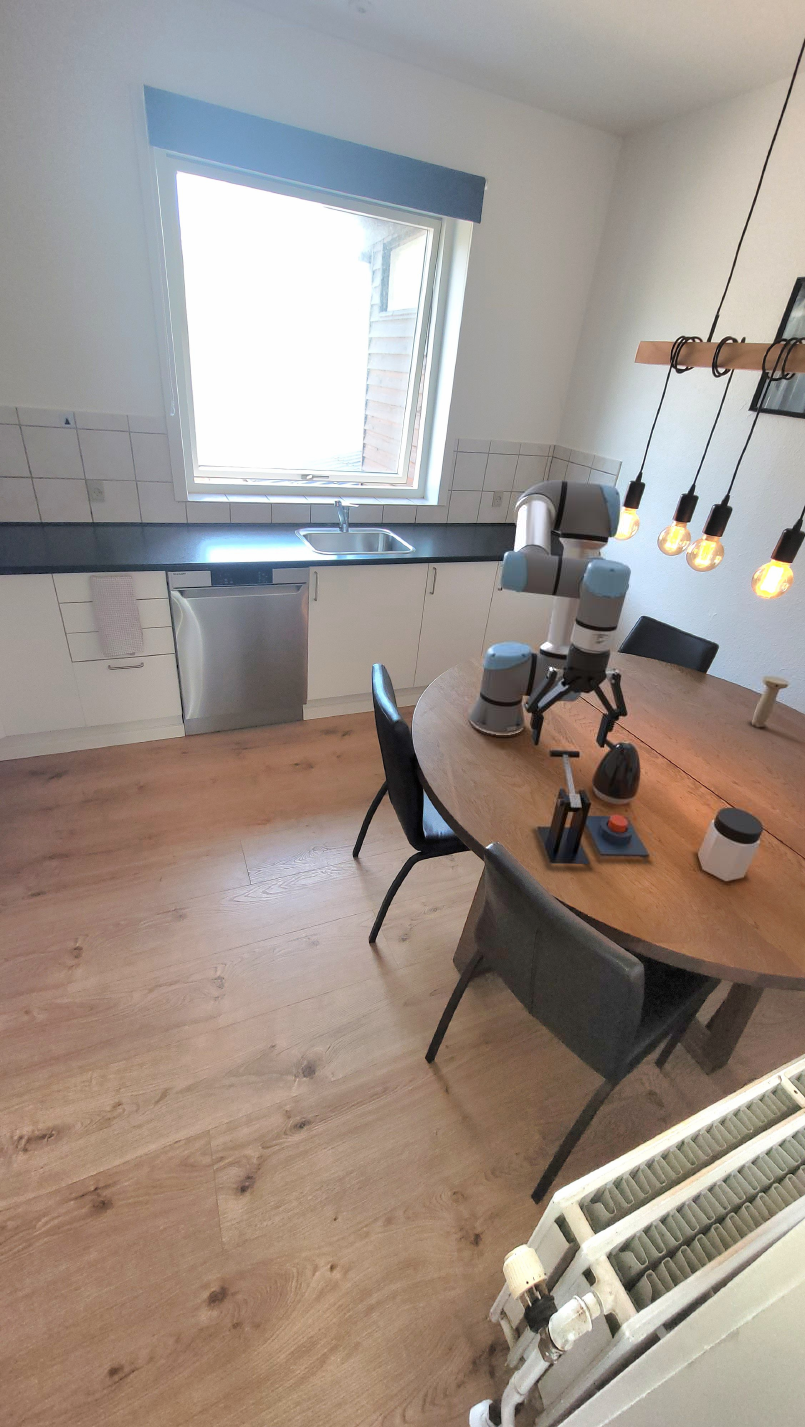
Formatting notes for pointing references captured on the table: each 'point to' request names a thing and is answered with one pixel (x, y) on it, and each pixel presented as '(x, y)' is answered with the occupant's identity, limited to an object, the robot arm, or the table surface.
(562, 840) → the lever stand
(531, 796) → the table surface
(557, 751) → the tap lever
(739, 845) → the jar
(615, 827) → the button
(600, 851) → the button block
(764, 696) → the handle
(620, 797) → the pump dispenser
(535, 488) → the robot arm
